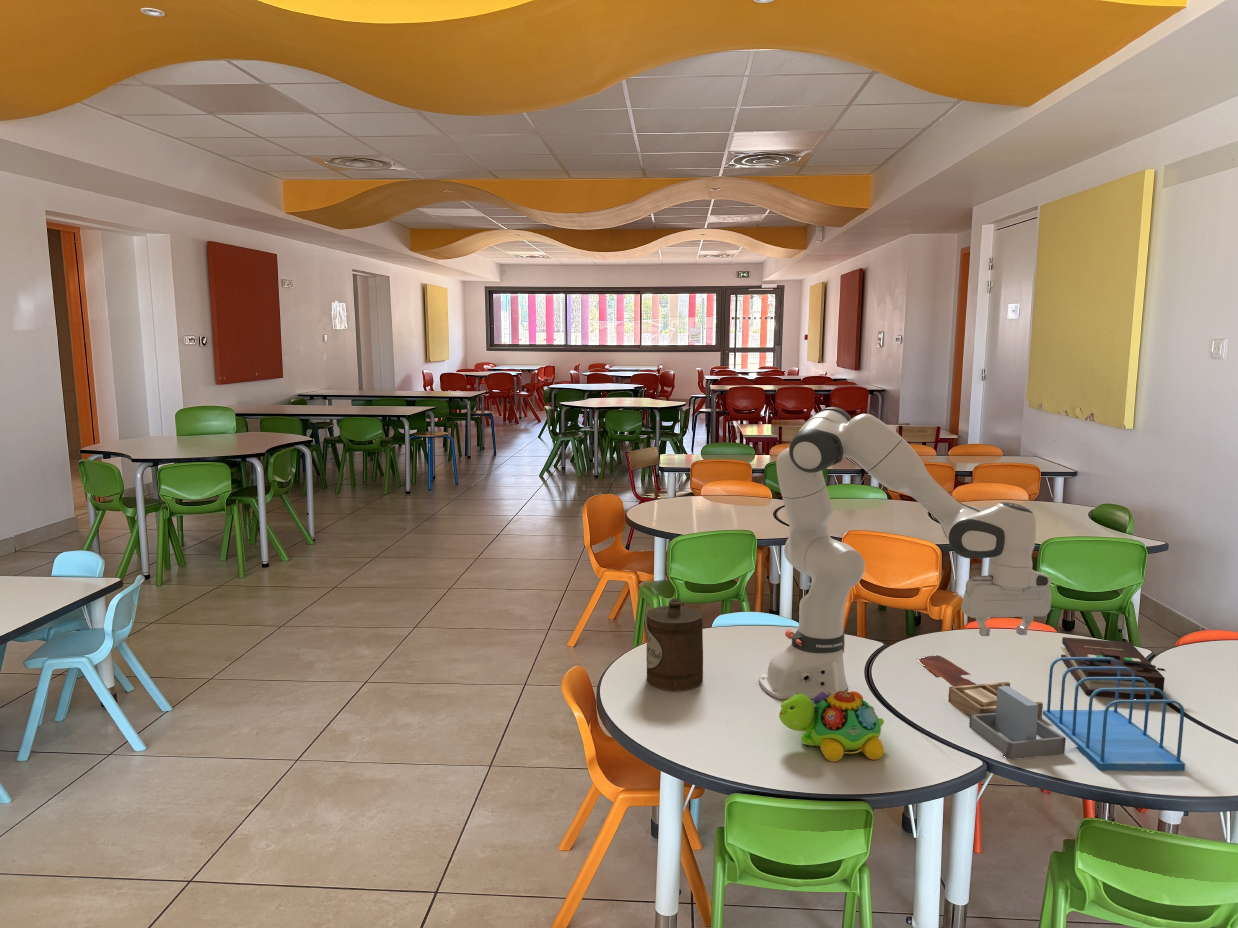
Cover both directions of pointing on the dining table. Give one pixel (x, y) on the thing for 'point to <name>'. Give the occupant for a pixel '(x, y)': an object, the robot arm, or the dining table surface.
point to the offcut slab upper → (981, 697)
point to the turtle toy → (835, 723)
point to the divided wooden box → (970, 706)
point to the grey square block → (1015, 715)
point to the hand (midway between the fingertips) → (1002, 634)
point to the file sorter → (1114, 726)
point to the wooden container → (674, 647)
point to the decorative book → (1125, 657)
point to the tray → (1019, 749)
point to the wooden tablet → (946, 670)
